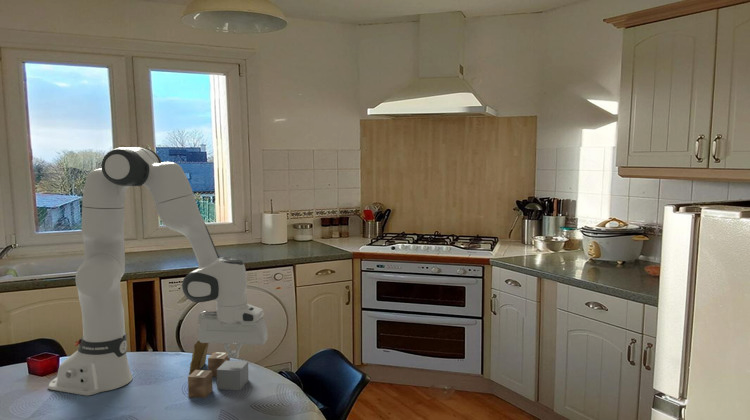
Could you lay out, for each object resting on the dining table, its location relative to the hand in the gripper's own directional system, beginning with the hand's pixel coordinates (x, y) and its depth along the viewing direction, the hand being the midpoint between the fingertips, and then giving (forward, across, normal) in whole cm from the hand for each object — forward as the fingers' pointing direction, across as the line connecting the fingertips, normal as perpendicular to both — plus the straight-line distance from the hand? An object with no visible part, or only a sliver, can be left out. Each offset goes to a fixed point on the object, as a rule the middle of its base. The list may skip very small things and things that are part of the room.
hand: (233, 357), depth 160 cm
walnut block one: (+8, -7, -7) cm, 13 cm away
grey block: (+8, 0, 0) cm, 9 cm away
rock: (+8, -16, +10) cm, 21 cm away
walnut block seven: (+8, -7, +7) cm, 13 cm away
